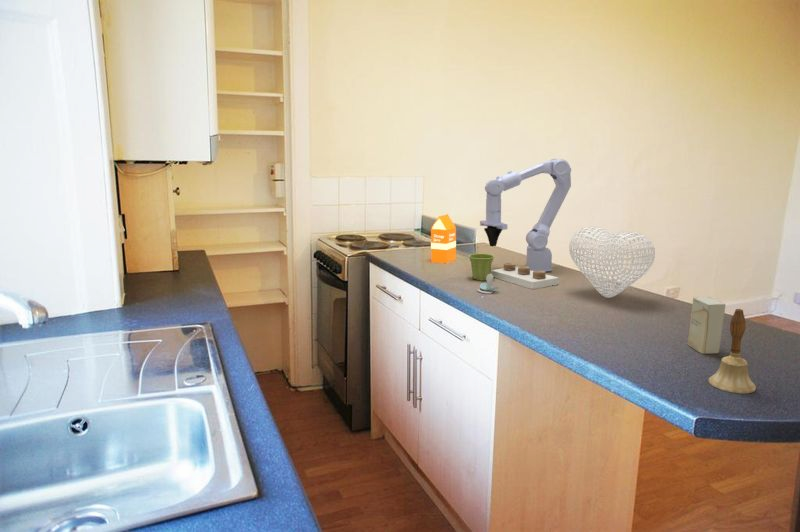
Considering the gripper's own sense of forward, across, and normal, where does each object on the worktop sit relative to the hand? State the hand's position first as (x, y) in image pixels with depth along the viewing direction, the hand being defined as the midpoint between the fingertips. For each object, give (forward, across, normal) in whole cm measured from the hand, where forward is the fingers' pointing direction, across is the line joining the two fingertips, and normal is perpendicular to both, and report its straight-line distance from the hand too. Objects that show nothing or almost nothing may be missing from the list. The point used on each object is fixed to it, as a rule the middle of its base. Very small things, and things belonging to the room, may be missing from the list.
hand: (493, 245), depth 215 cm
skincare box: (+11, +94, -11) cm, 95 cm away
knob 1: (+10, +10, 0) cm, 14 cm away
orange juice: (+11, -29, -4) cm, 31 cm away
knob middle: (+10, +18, 0) cm, 20 cm away
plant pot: (+11, +6, -10) cm, 16 cm away
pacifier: (+11, +23, -20) cm, 33 cm away
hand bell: (+11, +109, -25) cm, 112 cm away
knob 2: (+10, +26, 0) cm, 28 cm away
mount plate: (+10, +18, 0) cm, 20 cm away
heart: (+11, +50, +7) cm, 52 cm away
